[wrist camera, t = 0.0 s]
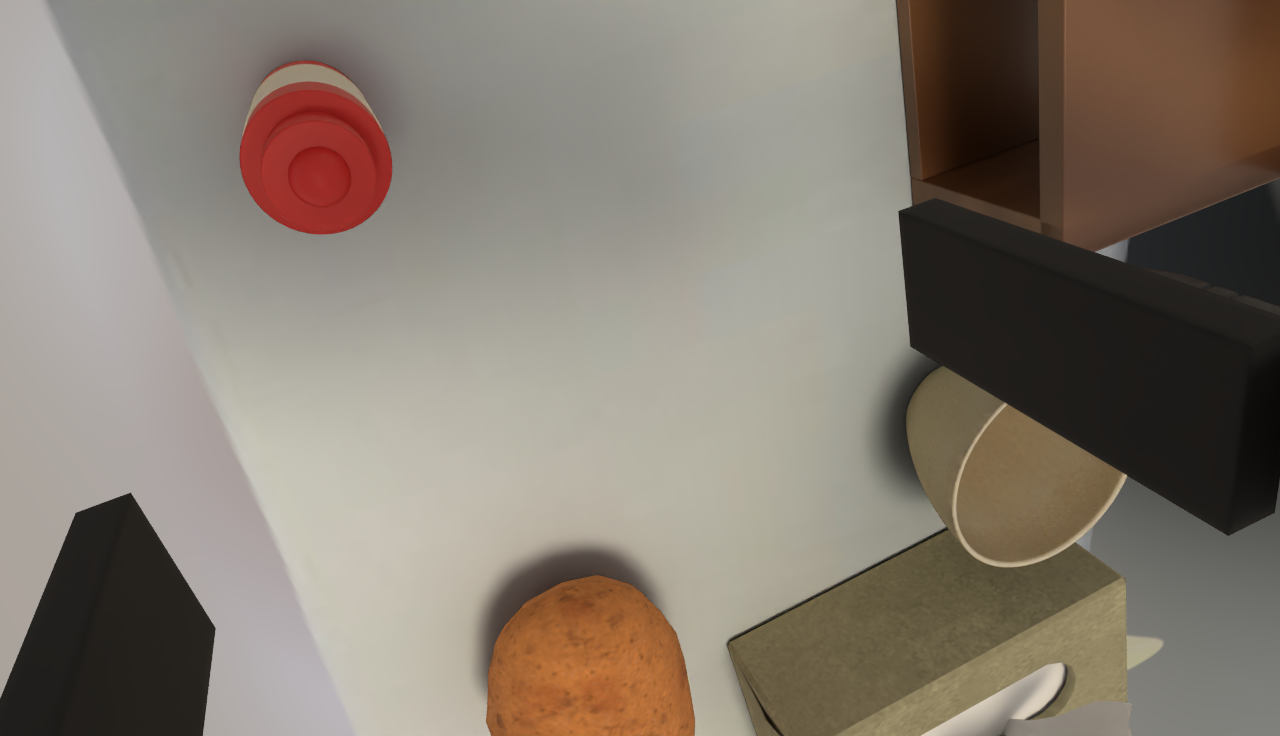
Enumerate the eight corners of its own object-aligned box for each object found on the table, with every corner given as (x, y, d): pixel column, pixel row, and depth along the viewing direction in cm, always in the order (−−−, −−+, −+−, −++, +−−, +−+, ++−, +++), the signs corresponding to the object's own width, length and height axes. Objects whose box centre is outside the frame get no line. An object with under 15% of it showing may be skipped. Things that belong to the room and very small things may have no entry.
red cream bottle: (232, 76, 28) (201, 126, 19) (344, 45, 29) (370, 78, 20) (279, 185, 30) (273, 282, 21) (384, 152, 31) (425, 232, 21)
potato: (497, 754, 44) (532, 888, 37) (446, 578, 39) (476, 697, 32) (668, 688, 46) (729, 804, 40) (641, 514, 41) (705, 614, 35)
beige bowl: (1049, 314, 45) (1169, 367, 39) (995, 485, 49) (1097, 559, 42) (888, 310, 41) (992, 369, 35) (842, 495, 45) (929, 577, 39)
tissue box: (1015, 491, 49) (1290, 686, 36) (1026, 613, 54) (1273, 826, 40) (720, 643, 46) (899, 922, 32) (759, 759, 51) (930, 1045, 37)
